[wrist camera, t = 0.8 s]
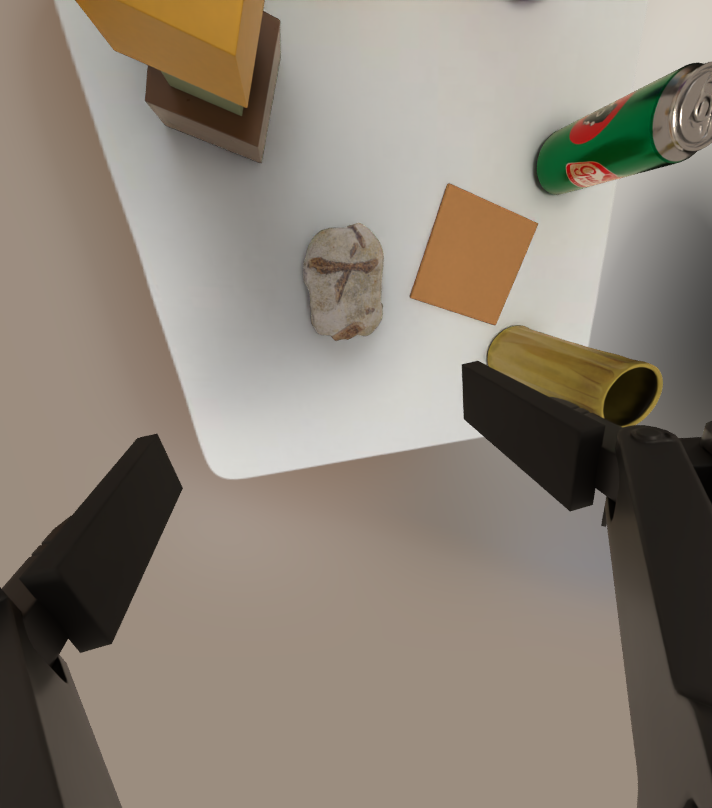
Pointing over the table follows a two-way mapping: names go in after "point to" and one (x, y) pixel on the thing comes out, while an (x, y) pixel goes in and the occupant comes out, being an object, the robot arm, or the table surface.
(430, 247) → the cork mat
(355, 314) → the stone
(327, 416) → the table surface
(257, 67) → the base slab
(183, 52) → the top cube
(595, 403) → the vase
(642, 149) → the soda can
